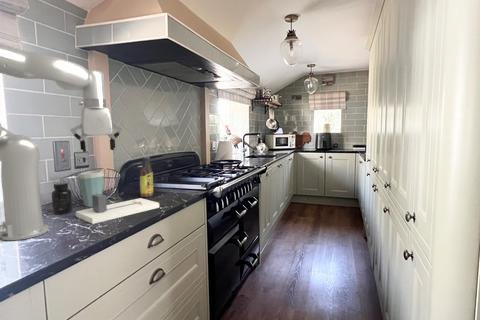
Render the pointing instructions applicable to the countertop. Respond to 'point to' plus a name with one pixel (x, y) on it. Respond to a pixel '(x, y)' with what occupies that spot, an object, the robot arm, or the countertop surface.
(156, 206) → the board
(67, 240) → the countertop surface
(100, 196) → the fader tab
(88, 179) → the disposable coffee cup
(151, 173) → the sauce bottle
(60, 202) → the supplement bottle
